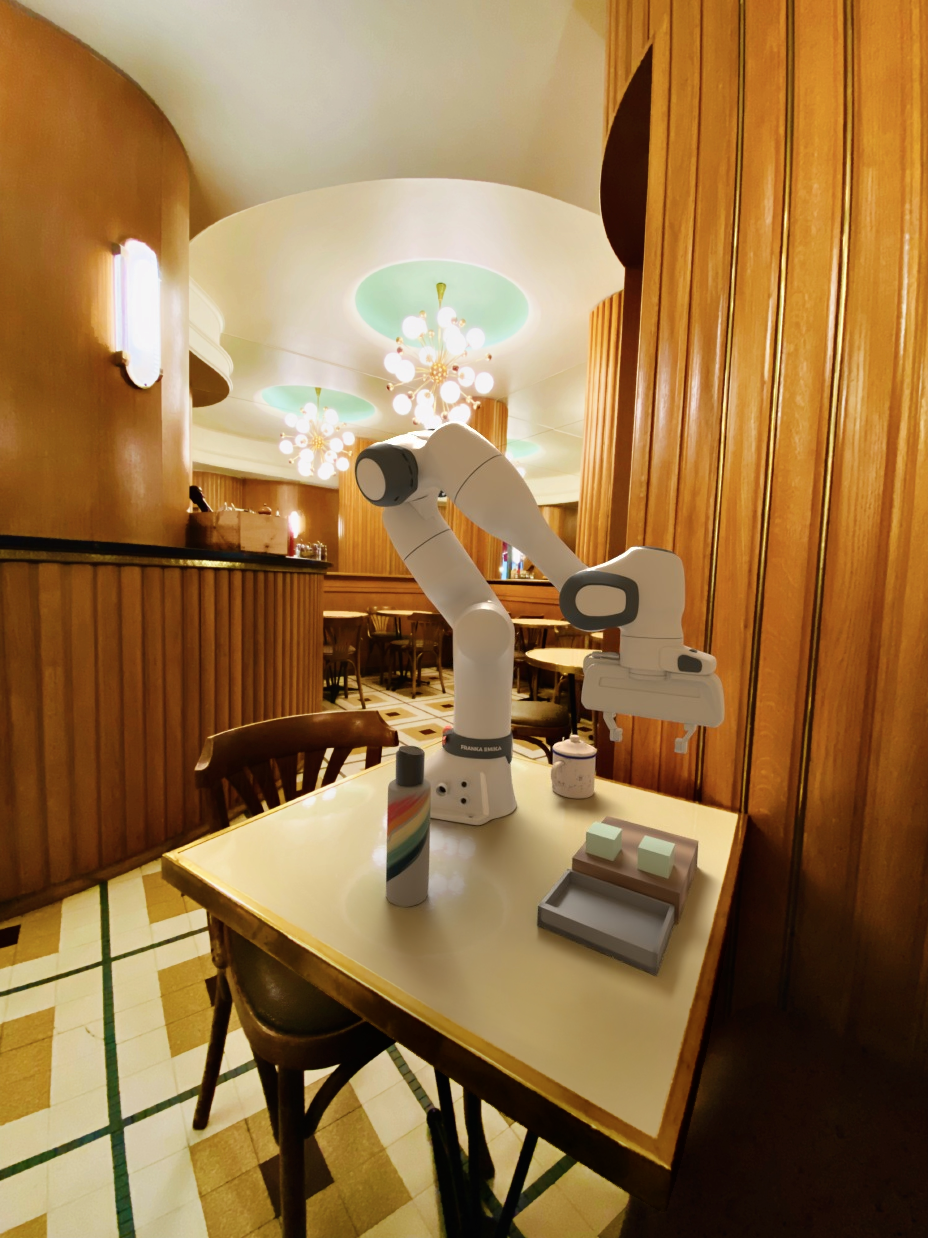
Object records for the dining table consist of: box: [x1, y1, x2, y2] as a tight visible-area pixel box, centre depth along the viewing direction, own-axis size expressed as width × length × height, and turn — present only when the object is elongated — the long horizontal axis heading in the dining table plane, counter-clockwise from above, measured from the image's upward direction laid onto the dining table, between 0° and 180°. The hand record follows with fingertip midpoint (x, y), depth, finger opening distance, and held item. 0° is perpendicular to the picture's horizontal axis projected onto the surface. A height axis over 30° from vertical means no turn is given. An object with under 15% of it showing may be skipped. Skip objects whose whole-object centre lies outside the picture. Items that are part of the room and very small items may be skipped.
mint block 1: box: [585, 820, 622, 861], centre depth 71 cm, size 4×4×3 cm
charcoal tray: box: [536, 868, 675, 977], centre depth 61 cm, size 10×14×2 cm
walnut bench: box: [571, 815, 699, 925], centre depth 72 cm, size 16×14×4 cm
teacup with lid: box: [550, 734, 598, 800], centre depth 101 cm, size 12×9×12 cm
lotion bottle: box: [385, 745, 431, 908], centre depth 65 cm, size 6×6×20 cm
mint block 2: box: [637, 835, 675, 879], centre depth 67 cm, size 4×4×3 cm
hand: (647, 746), depth 74 cm, fingers open, 8 cm apart
